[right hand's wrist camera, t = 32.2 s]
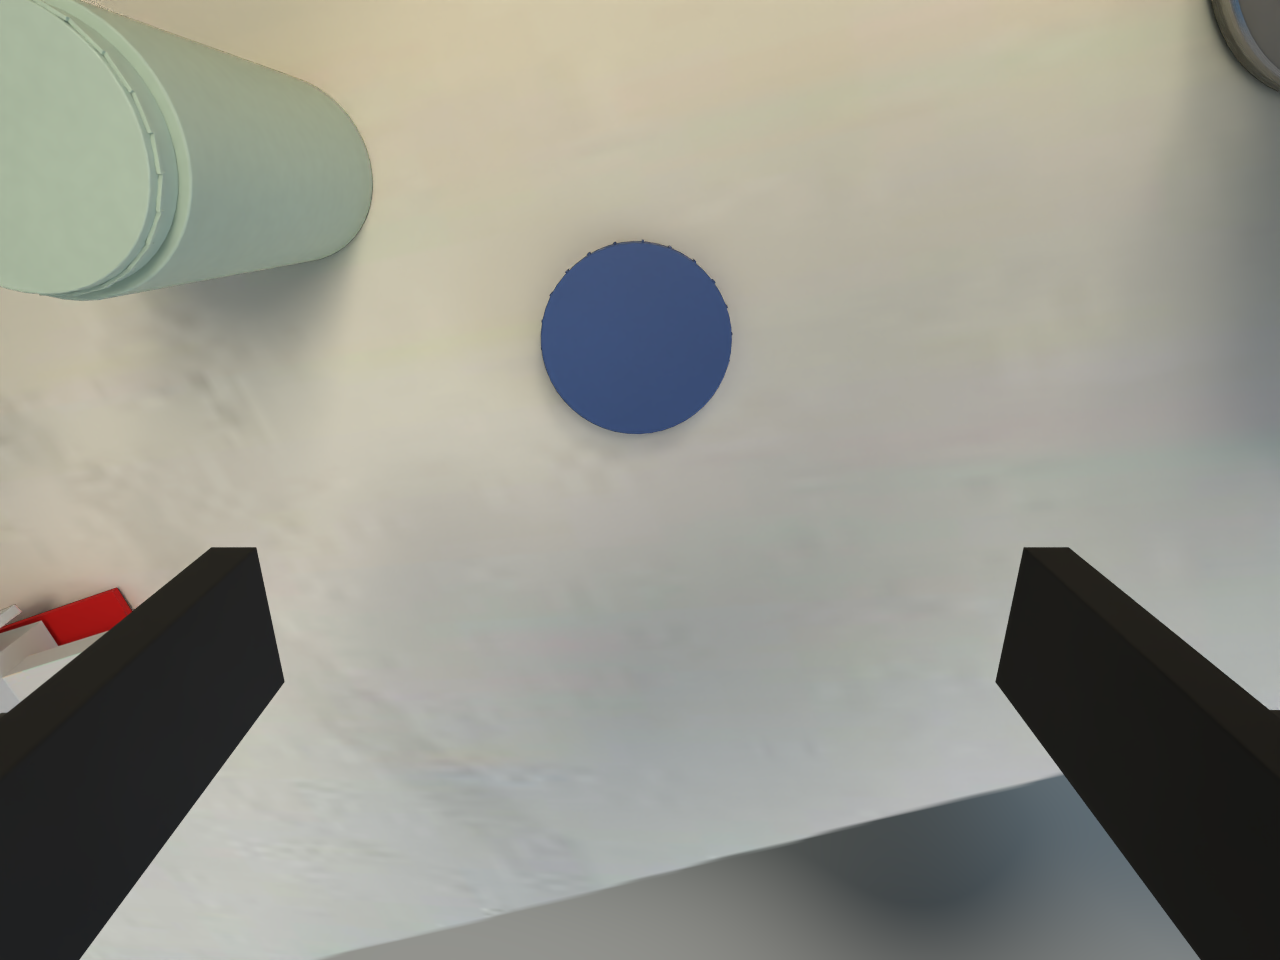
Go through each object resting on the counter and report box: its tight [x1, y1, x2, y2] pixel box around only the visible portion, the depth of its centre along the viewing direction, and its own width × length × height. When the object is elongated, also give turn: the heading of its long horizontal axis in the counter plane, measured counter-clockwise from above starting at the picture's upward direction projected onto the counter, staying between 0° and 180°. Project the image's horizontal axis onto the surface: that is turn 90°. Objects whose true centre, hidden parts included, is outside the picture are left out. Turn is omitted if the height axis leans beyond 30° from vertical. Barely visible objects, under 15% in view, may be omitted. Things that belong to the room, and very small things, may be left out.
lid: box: [541, 240, 732, 434], centre depth 38 cm, size 10×10×2 cm
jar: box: [0, 0, 372, 301], centre depth 28 cm, size 9×9×17 cm
